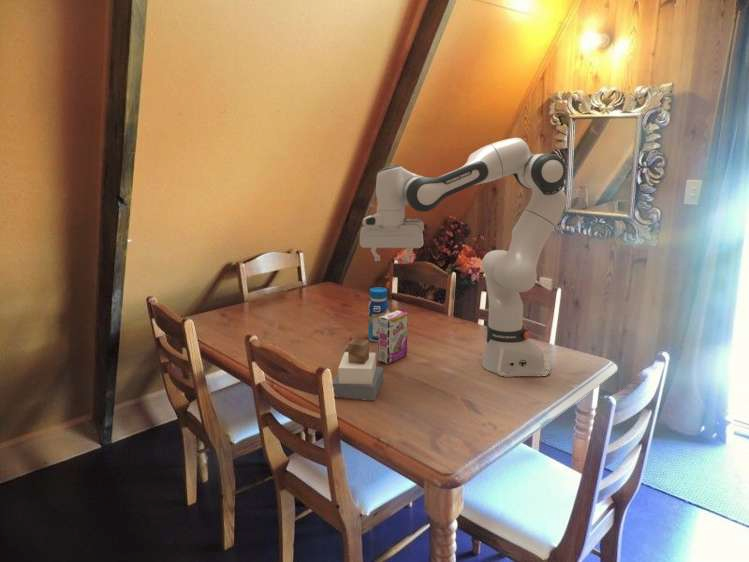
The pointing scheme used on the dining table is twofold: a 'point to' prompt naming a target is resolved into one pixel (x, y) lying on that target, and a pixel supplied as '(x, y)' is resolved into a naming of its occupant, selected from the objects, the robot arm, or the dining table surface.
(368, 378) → the tower top
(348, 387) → the tower base
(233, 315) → the dining table surface
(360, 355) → the walnut block
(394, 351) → the candy bar box
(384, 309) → the beverage bottle
